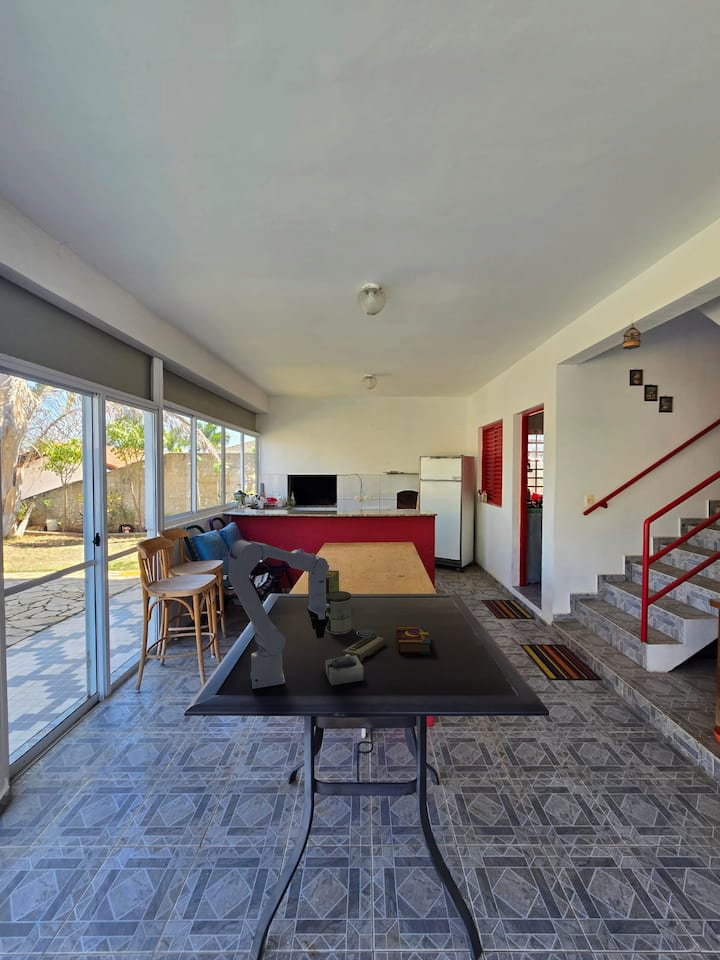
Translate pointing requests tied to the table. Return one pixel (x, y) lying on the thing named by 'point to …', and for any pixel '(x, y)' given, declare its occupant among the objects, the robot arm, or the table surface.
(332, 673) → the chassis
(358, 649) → the computer
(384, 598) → the table surface
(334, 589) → the protein box
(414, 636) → the decorative book
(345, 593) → the coffee can
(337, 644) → the table surface
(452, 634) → the table surface
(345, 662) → the block
